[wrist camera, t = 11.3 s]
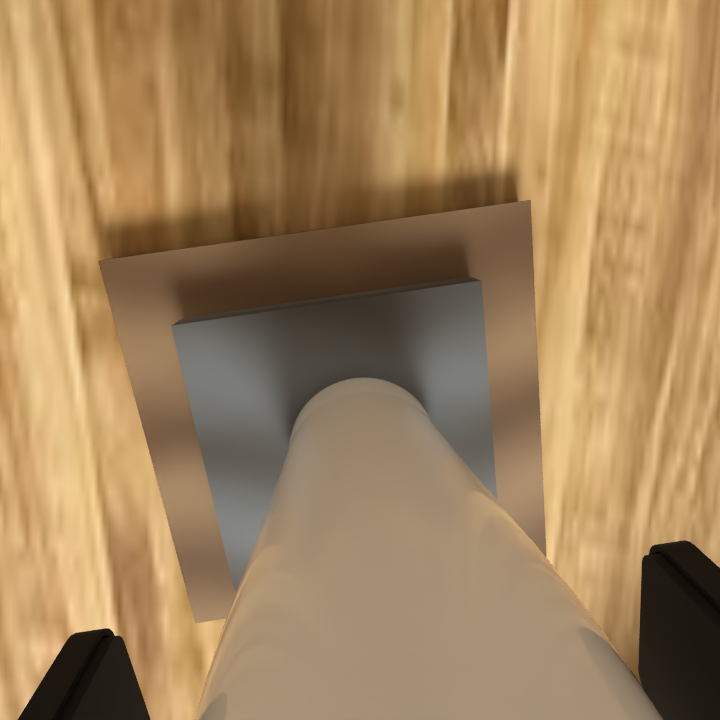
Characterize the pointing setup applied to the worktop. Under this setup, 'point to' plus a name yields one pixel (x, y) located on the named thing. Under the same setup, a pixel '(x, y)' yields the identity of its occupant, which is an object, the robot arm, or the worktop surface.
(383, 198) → the worktop surface
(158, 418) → the base
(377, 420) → the drinking glass
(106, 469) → the worktop surface
